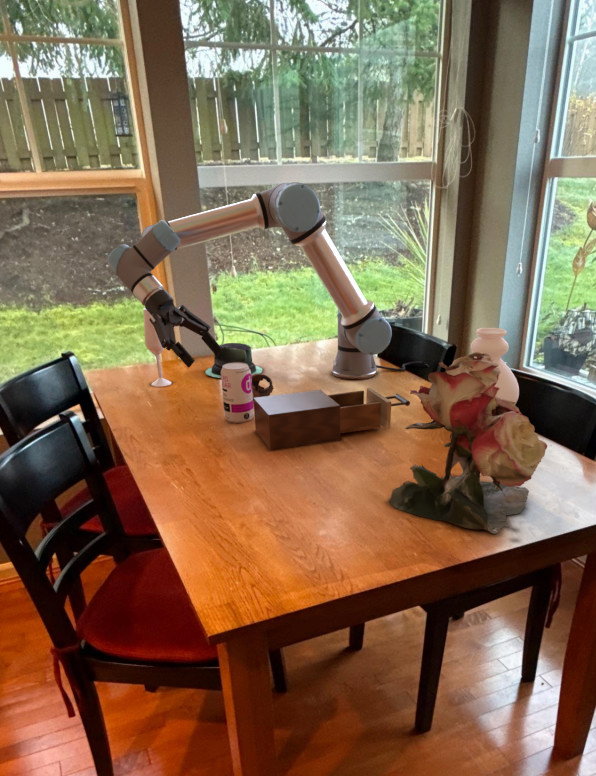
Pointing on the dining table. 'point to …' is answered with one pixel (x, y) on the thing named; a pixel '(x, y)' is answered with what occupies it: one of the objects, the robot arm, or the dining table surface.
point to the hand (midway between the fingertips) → (206, 358)
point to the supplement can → (237, 392)
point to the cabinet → (297, 419)
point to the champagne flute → (154, 347)
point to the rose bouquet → (473, 449)
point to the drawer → (365, 410)
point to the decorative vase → (497, 360)
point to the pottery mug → (259, 390)
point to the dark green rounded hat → (233, 358)
